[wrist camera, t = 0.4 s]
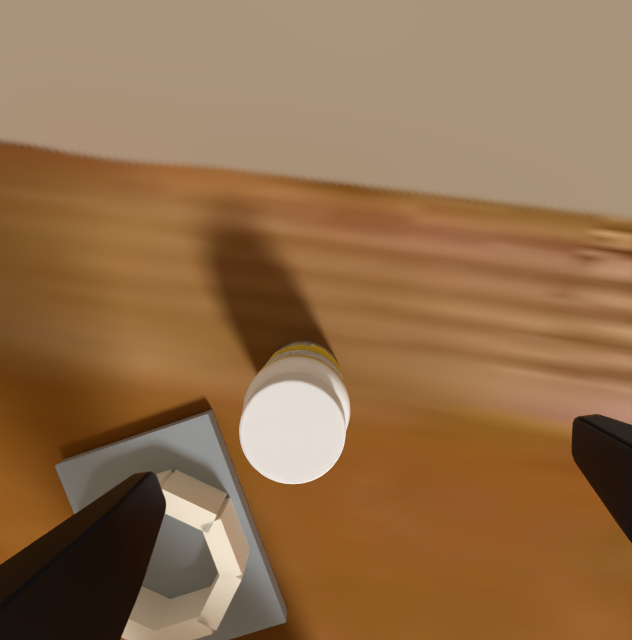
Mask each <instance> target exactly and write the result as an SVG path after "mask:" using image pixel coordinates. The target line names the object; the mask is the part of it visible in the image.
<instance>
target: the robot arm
mask: <svg viewBox="0 0 632 640" xmlns="http://www.w3.org/2000/svg"><path fill="white" fill-rule="evenodd" d="M572 455H573V458H574V461H575V463H576V464H577V466H578V467H579V469H580V470H581V472H582V473H583V474H584V476H585V477H586V479H587V480H588V482H589V483H590V485H591V486H592V487H593V489H594V490H595V492H596V493H597V495H598V496H599V498H600V499H601V500H602V502H603V503H604V505H605V506H606V508H607V509H608V511H609V512H610V514H611V515H612V516H613V518H614V519H615V521H616V522H617V524H618V525H619V526H620V528H621V529H622V531H623V532H624V533H625V535H626V536H627V537H628V539H629V540H630V541H631V543H632V425H630V424H627V423H624V422H621V421H618V420H615V419H612V418H609V417H605V416H602V415H598V414H593V415H585V416H578V417H576V418H575V419H574V421H573V428H572ZM165 511H166V499H165V496H164V494H163V491H162V488H161V486H160V483H159V480H158V477H157V475H156V474H155V473H154V472H152V471H148V472H140V473H135V474H133V475H131V476H130V477H128V478H127V479H125V480H124V481H122V482H121V483H120V484H118V485H117V486H115V487H114V488H112V489H111V490H109V491H108V492H106V493H105V494H103V495H102V496H100V497H99V498H98V499H96V500H95V501H93V502H92V503H90V504H89V505H87V506H86V507H84V508H83V509H81V510H80V511H78V512H77V513H76V514H74V515H73V516H71V517H70V518H68V519H67V520H65V521H64V522H62V523H61V524H59V525H58V526H56V527H55V528H54V529H52V530H51V531H49V532H48V533H46V534H45V535H43V536H42V537H40V538H39V539H37V540H36V541H34V542H33V543H32V544H30V545H29V546H27V547H26V548H24V549H23V550H21V551H20V552H18V553H17V554H15V555H14V556H12V557H11V558H10V559H8V560H7V561H5V562H4V563H2V564H1V565H0V640H120V639H121V637H122V634H123V632H124V629H125V627H126V625H127V622H128V620H129V617H130V615H131V612H132V610H133V607H134V605H135V602H136V600H137V597H138V595H139V592H140V590H141V587H142V584H143V581H144V578H145V575H146V572H147V569H148V566H149V563H150V559H151V556H152V553H153V550H154V547H155V543H156V540H157V537H158V534H159V531H160V528H161V524H162V521H163V518H164V515H165Z"/></svg>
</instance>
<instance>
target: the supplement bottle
mask: <svg viewBox="0 0 632 640" xmlns="http://www.w3.org/2000/svg"><path fill="white" fill-rule="evenodd" d="M349 418H350V402H349V396H348V392H347V389H346V386H345V382H344V379H343V376H342V372H341V369H340V366H339V364H338V362H337V360H336V358H335V357H334V356H333V354H332V353H331V352H330V351H329V350H327V349H326V348H325V347H323V346H321V345H319V344H317V343H314V342H309V341H296V342H292V343H289V344H286V345H284V346H283V347H281V348H280V349H278V350H277V351H276V352H275V353H274V354H273V355H272V357H271V358H270V359H269V360H268V362H267V363H266V364H265V365H264V367H263V368H262V369H261V370H260V371H259V373H258V374H257V375H256V377H255V378H254V379H253V381H252V382H251V384H250V386H249V388H248V390H247V392H246V395H245V398H244V403H243V412H242V415H241V419H240V425H239V437H240V443H241V447H242V450H243V452H244V454H245V456H246V458H247V459H248V461H249V462H250V464H251V465H252V466H253V467H254V468H255V469H256V470H257V471H258V472H260V473H261V474H262V475H264V476H265V477H267V478H269V479H271V480H274V481H276V482H280V483H284V484H300V483H306V482H309V481H312V480H314V479H317V478H319V477H320V476H322V475H323V474H325V473H326V472H327V471H328V470H329V469H330V468H332V466H333V465H334V464H335V463H336V461H337V460H338V458H339V457H340V455H341V452H342V450H343V447H344V443H345V436H346V429H347V427H348V423H349Z"/></svg>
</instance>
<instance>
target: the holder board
mask: <svg viewBox="0 0 632 640" xmlns="http://www.w3.org/2000/svg"><path fill="white" fill-rule="evenodd" d="M54 466H55V468H56V470H57V473H58V475H59V478H60V480H61V483H62V485H63V487H64V490H65V492H66V495H67V497H68V500H69V502H70V504H71V507H72V509H73V512H74V514H76V513H77V512H78V511H80V510H81V509H83V508H84V507H86V506H87V505H89V504H90V503H92V502H93V501H95V500H96V499H98V498H99V497H100V496H102V495H103V494H105V493H106V492H108V491H109V490H111V489H112V488H114V487H115V486H117V485H118V484H120V483H121V482H122V481H124V480H125V479H127V478H128V477H130V476H131V475H133V474H135V473H140V472H148V471H152V472H154V473H155V474H156V475H157V477H158V480H159V483H160V486H161V488H162V491H163V494H164V496H165V499H166V511H165V515H164V518H163V521H162V524H161V528H160V531H159V534H158V537H157V540H156V543H155V547H154V550H153V553H152V556H151V559H150V563H149V566H148V569H147V572H146V575H145V578H144V581H143V584H142V587H141V590H140V592H139V595H138V597H137V600H136V602H135V605H134V607H133V610H132V612H131V615H130V617H129V620H128V622H127V625H126V627H125V629H124V632H123V634H122V638H125V639H126V640H230V639H233V638H237V637H240V636H243V635H246V634H250V633H253V632H256V631H260V630H263V629H266V628H269V627H273V626H276V625H279V624H282V623H286V620H287V611H288V610H287V608H286V605H285V602H284V600H283V597H282V594H281V592H280V589H279V586H278V584H277V581H276V578H275V576H274V573H273V570H272V568H271V565H270V562H269V560H268V557H267V554H266V552H265V549H264V546H263V544H262V541H261V538H260V536H259V533H258V530H257V528H256V525H255V522H254V520H253V517H252V514H251V512H250V509H249V506H248V504H247V501H246V498H245V496H244V493H243V490H242V488H241V485H240V482H239V480H238V477H237V474H236V472H235V469H234V466H233V464H232V461H231V458H230V456H229V453H228V450H227V448H226V445H225V442H224V440H223V437H222V434H221V432H220V429H219V426H218V424H217V421H216V418H215V416H214V413H213V410H212V409H211V410H208V411H205V412H202V413H199V414H196V415H193V416H191V417H188V418H185V419H182V420H179V421H176V422H173V423H170V424H167V425H164V426H161V427H158V428H155V429H152V430H149V431H146V432H143V433H140V434H137V435H134V436H131V437H128V438H125V439H123V440H120V441H117V442H114V443H111V444H108V445H105V446H102V447H99V448H96V449H93V450H90V451H87V452H84V453H81V454H78V455H75V456H72V457H69V458H66V459H64V460H62V461H61V462H59V463H58V464H56V465H54Z"/></svg>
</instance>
